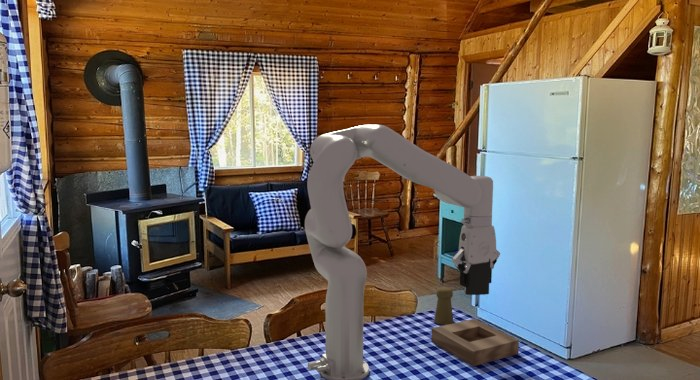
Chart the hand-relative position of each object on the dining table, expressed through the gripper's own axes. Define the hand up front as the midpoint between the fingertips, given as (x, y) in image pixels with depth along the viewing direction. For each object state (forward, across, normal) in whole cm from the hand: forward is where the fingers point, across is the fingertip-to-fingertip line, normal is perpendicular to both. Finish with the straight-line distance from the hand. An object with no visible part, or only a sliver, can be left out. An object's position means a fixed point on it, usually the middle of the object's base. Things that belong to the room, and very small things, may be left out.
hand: (475, 283), depth 149 cm
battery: (+3, 0, 0) cm, 3 cm away
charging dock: (+19, 0, 0) cm, 19 cm away
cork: (+19, +5, +20) cm, 28 cm away
